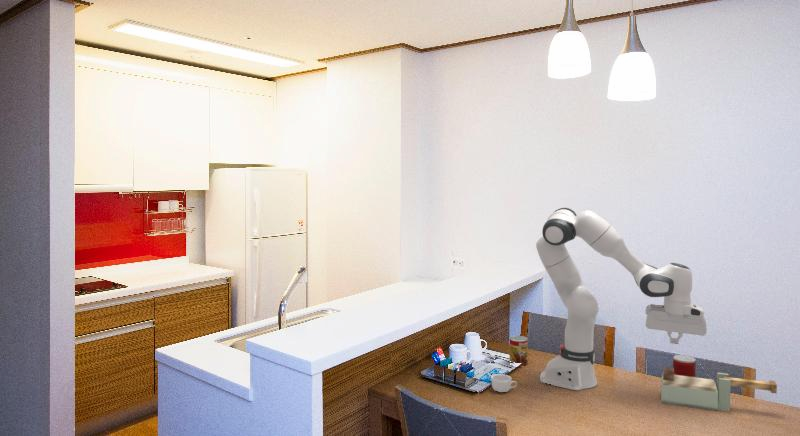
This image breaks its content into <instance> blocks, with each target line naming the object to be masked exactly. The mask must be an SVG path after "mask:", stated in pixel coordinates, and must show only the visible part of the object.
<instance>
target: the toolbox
mask: <svg viewBox="0 0 800 436" xmlns="http://www.w3.org/2000/svg"><path fill="white" fill-rule="evenodd" d="M729 375H730V374H729V373H724V372H717V374H716V376H717V377H716V383H715V385H716V388H717V392H713V391H705V390H698V389H690V388H683V387H675V386H668V385H663V375H662V376H661V380H660V400H661V401H660V402H661V404H666V405H674V406H681V407H685V408H686V407H687V408H693V409H700V410H707V411H714V412H717V411H723V412H728V413H730V412H731V387H732V386H731V379H724V377H730V376H729Z"/></svg>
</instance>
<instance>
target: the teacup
mask: <svg viewBox="0 0 800 436" xmlns="http://www.w3.org/2000/svg"><path fill="white" fill-rule="evenodd" d="M490 377H491V387H492V389H493V390H494V391H495V392H496V391H498V392H506V393H507V392H509V391H510V390H511V389H514V388H516V387H517V386H518V383H517V381H516V380H512V377H511V376H510V375H507V374H504V373H503V374H502V373H496V374H493V375H491V376H490ZM513 383H515V385H514V386H512V384H513ZM498 392H497V393H498Z"/></svg>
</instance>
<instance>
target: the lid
mask: <svg viewBox="0 0 800 436" xmlns="http://www.w3.org/2000/svg"><path fill="white" fill-rule="evenodd" d="M662 369H663V371H662V376H663V385H668V386H675V387H683V388H690V389H698V390H705V391H713V392H717V384H716V381H715V380H714V379H711V378H702V377H696V376H695V377H689V376H681V375H674V368H673V366H671V367H669V366H663V367H662ZM715 384H716V385H715Z"/></svg>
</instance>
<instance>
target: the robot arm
mask: <svg viewBox="0 0 800 436" xmlns="http://www.w3.org/2000/svg"><path fill="white" fill-rule="evenodd" d="M541 234H542V236H541V237H540V238H539V239H538V240H537V242H536V244H535V247H536V250H537V251H536V252H537V253H538V256H539V259H540V260H541V263H542V265H543V267H544V269H545V271H546V272H547V274H548V276H549V277H550V280H551V282H552V283H553V285H554V288H555V290H556V291H557V293H558V296H559V297H560V300H561V301H562V303H563V305H564V307H565V308H566V310H567V318H566V319H567V320H566V325H565V328H564V343H563V344H560V346H559V355H557V356H556V357H553V358H552V359H550V360H549V361H548V362H547V364H546V367H545V370H543V371H542V372H541V373H540V374H539V381H540V382H541V383H542V382H543V383H542V384H545V383H547V384H546V385H549V384H551V385H550V386H554V387H559V388H563V389H569V390H572V391H581V390H586V389H593V388H594V387H596V386H597V385H598V382H597V378H596V374H595V367H594V364H595V357H596V355H595V349H594V331H595V330H594V329H595V325H596V321H597V320H596V319H597V315H598V313H599V303H598V301H597V299H596V297H595V296H594V295H593V294H592V293H591V292H590V291H589V290H588V289H587V287H586V285H585V283H584V281H583V279H582V276H581V275H580V272H579V269H578V267H577V266H576V263H575V262H574V260H573V258H572V257H571V254H570V252H569V251H568V250H567V247H566V244H567V243H568V242H570V241H573V240H575V239H576V237H578V238H581V239H582V241H583V242H585V243H586V244H587V245H588V246H589V247H590V248H591V249H593V251H595V252H597V253H598V254H600V255H602V256H603V257H605V258H611V259H613V260H615V261H617V262H618V263H619V264H620V265H621V266H623V268H625V269H626V270H627V271H628V272H629V273H630V274H631V275H632V277H633V279H634V281H635V283H636V285H637V287H638V288H639V289H640V291H641V292H642V293H643V294H644V295H645V296H646V297H650V298H663V299H664V300H663V305H661V304H653V303H652V304H651V303H650V304H648V305H647V306H645V314H646V319H645V327H646V328H647V330H648V329H649V330H655V331H664V332H666V334H667V337H668V338H669V344H675V345H679V342H680V339H682V338H683V334H686V335H693V336H700V337H703V336H705V335H707V329H708V328H707V321H706V318H705V317H704V316H705V315H704V314H705V311H704V309H703V308H702V306H699V305H696V304H693V303H692V299H691V292H692V289H693V272H692V269H690V267H688V266H687V265H684V264H681V263H677V262H670V263H668V264H667V265H665V266H662V267H659V268H657V267H655V266H653V265H650V264H648V263H645V262H644V261H642V260H641V258H639V256H636V254H635V253H634V252H633V251H631V249H630V248H629V247H628V246H627V244H626V243H625V241H624V238H622V235H621V234H620V233H619V232H618V231H617V229H615V227H613V225H612V224H610V223H609V222H608V221H607V220H606V219H605V218H603V217H602V216H600V215H599V214H597V213H596V212H594V211H593V210H589V209H587V210H586V209H585V210H583V211H581V212H579V213H578V214H577V213H576V212H575V211H574V210H573V209H572V208H570V207H561V208H558V209H556V210H554V211H553V213H552V214H551V215H549V216H548V218H547V220H546V222H544V225H543V227H542V233H541ZM672 333H677V335H678V336H676V337H672V336H671V335H672Z"/></svg>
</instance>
